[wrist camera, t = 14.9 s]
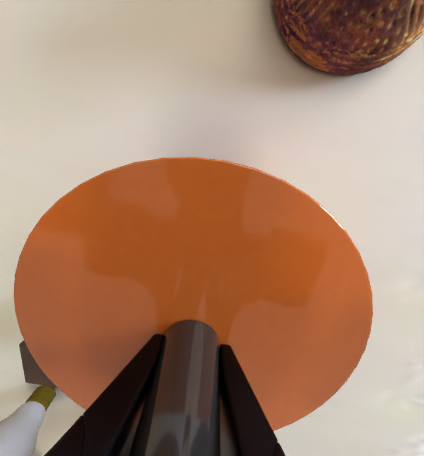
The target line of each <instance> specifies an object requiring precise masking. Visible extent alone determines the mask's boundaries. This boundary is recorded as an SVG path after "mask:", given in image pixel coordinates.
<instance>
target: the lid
mask: <svg viewBox="0 0 424 456" xmlns="http://www.w3.org/2000/svg"><path fill="white" fill-rule="evenodd" d="M14 302H15V312H16V317H17V320H18V324H19V328H20V331H21V334H22V336H23V338H24V341H25V343H26V345H27V348H28V349H29V351H30V353H31V354H32V356H33V358H34V359H35V361H36V363H37V364H38V365H39V367H40V368H41V369H42V371H43V372H44V373H45V374H46V376H47V377H48V378H49V379H50V380H51V381H52V382H53V383H54V384H55V385H56V386H57V387H58V388H59V389H60V390H61V391H62V392H63V393H64V394H66V395H67V396H68V397H69V398H71V399H72V400H73V401H74V402H76V403H77V404H79V405H80V406H82V407H83V408H85V409H86V410H87V409H88V408H89V407H90V406H91V404H92V403H93V402H94V401H95V400H96V399H97V398H98V397H99V395H100V394H101V393H102V392H103V391H104V390H105V389H106V388H107V386H108V385H109V384H110V383H111V382H112V381H113V380H114V379H115V378H116V376H117V375H118V374H119V373H120V372H121V371H122V370H123V369H124V367H125V366H126V365H127V364H128V363H129V362H130V361H131V360H132V359H133V357H134V356H135V355H136V354H137V353H138V352H139V351H140V350H141V348H142V347H143V346H144V345H145V344H146V343H147V342H148V341H149V339H150V338H151V337H152V336H153V335H154V334H162V335H164V340H163V343H162V346H161V350H160V353H159V357H158V360H157V363H156V367H155V370H154V373H153V376H152V379H151V382H150V385H149V388H148V391H147V395H146V398H145V401H144V405H143V408H142V411H141V415H140V418H139V421H138V425H137V428H136V432H135V435H134V438H133V442H132V445H131V448H130V452H129V455H128V456H221V440H220V362H219V348H220V345H221V344H227V345H230V346H231V348H232V350H233V352H234V354H235V356H236V358H237V360H238V362H239V364H240V366H241V368H242V370H243V372H244V374H245V376H246V378H247V380H248V382H249V384H250V386H251V388H252V390H253V392H254V394H255V396H256V398H257V400H258V402H259V404H260V406H261V408H262V410H263V412H264V414H265V416H266V418H267V420H268V422H269V424H270V426H271V428H272V430H273V431H275V430H277V429H280V428H282V427H284V426H287V425H289V424H292V423H294V422H295V421H297V420H299V419H301V418H303V417H305V416H306V415H308V414H310V413H311V412H313V411H314V410H315V409H317V408H318V407H320V406H321V405H323V404H324V403H325V402H326V401H327V400H328V399H330V398H331V397H332V396H333V395H334V394H335V393H336V392H337V391H338V390H339V389H340V388H341V387H342V385H343V384H344V383H345V382H346V381H347V380H348V378H349V377H350V375H351V374H352V372H353V371H354V369H355V368H356V367H357V365H358V363H359V361H360V359H361V357H362V355H363V353H364V351H365V348H366V344H367V341H368V338H369V335H370V331H371V323H372V316H373V305H372V291H371V286H370V282H369V277H368V273H367V270H366V268H365V266H364V263H363V261H362V258H361V256H360V253H359V251H358V250H357V248H356V246H355V245H354V243H353V242H352V240H351V238H350V237H349V235H348V234H347V232H346V231H345V230H344V229H343V227H342V226H341V225H340V224H339V223H338V222H337V221H336V219H335V218H334V217H333V216H332V215H331V214H330V213H329V212H328V211H327V210H326V209H325V208H323V207H322V206H321V205H320V204H318V203H317V202H316V201H315V200H314V199H312V198H311V197H310V196H309V195H307V194H306V193H304V192H302V191H301V190H299V189H297V188H296V187H294V186H292V185H291V184H289V183H287V182H286V181H284V180H282V179H279V178H277V177H275V176H272V175H270V174H267V173H265V172H263V171H260V170H258V169H255V168H251V167H248V166H244V165H240V164H236V163H232V162H229V161H224V160H215V159H207V158H198V157H177V158H159V159H153V160H147V161H141V162H135V163H131V164H128V165H125V166H122V167H118V168H115V169H112V170H109V171H106V172H104V173H102V174H100V175H98V176H96V177H94V178H92V179H90V180H88V181H86V182H84V183H82V184H80V185H78V186H77V187H76V188H74V189H73V190H72V191H70V192H69V193H67V194H66V195H65V196H63V197H62V198H60V199H59V200H58V201H57V202H56V203H55V204H54V205H53V206H52V207H51V208H50V209H49V210H48V211H47V212H46V213H45V214H44V215H43V216H42V217H41V219H40V220H39V222H38V223H37V225H36V226H35V228H34V229H33V230H32V232H31V233H30V235H29V236H28V239H27V241H26V243H25V245H24V247H23V250H22V252H21V254H20V257H19V261H18V265H17V269H16V273H15V283H14Z"/></svg>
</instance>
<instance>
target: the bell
mask: <svg viewBox="0 0 424 456" xmlns="http://www.w3.org/2000/svg"><path fill="white" fill-rule="evenodd" d="M273 8H274V12H275V15H276V20H277V24H278V27H279V29H280V32H281V34H282V36H283V37H284V39H285V40H286V42H287V44H288V46H289V48H290V49H291V50H292V51H293V52H294V53H295V54H296V55H298V56H299V57H300V58H301V59H302V60H303V61H304V62H305V63H306V64H308V65H310V66H312V67H314V68H317V69H319V70H322V71H326V72H329V73H334V74H351V75H352V74H358V73H363V72H367V71H370V70H372V69H375V68H377V67H380V66H382V65H384V64H386V63H388V62H389V61H391V60H393V59H394V58H396V57H397V56H398V55H400V54H401V53H402V52H404V51H405V50H406V49H407V48H409V47H410V46H411V45H412V44H413V43H414V42H415V41H416V40H418V39H419V38H420V37H421V36H422V35H423V34H424V0H273Z"/></svg>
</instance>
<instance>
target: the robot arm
mask: <svg viewBox="0 0 424 456" xmlns="http://www.w3.org/2000/svg"><path fill="white" fill-rule="evenodd" d="M163 340H164V335H162V334H154V335H153V336H152V337H151V338H150V339H149V341H148V342H147V343H146V344H145V345H144V346H143V347H142V348H141V350H140V351H139V352H138V353H137V354H136V355H135V356H134V357H133V359H132V360H131V361H130V362H129V363H128V364H127V365H126V366H125V367H124V369H123V370H122V371H121V372H120V373H119V374H118V375H117V376H116V378H115V379H114V380H113V381H112V382H111V383H110V384H109V385H108V386H107V388H106V389H105V390H104V391H103V392H102V393H101V394H100V395H99V397H98V398H97V399H96V400H95V401H94V402H93V403H92V404H91V406H90V407H89V408H88V409H87V410H86V411H85V412H84V414H83V416H81V417H80V418H79V419H78V420H77V421H76V422H75V423H74V424H73V426H72V427H71V428H70V429H69V430H68V431H67V432H66V433H65V434H64V435H63V436H62V437H61V439H60V440H59V441H58V442H57V443H56V444H55V445H54V446H53V447H52V448H51V449H50V450H49V451H48V452H47V453H46V454H45V455H44V456H128V455H129V452H130V448H131V445H132V442H133V438H134V435H135V432H136V428H137V425H138V421H139V418H140V415H141V411H142V408H143V405H144V401H145V398H146V395H147V391H148V388H149V385H150V382H151V379H152V376H153V373H154V370H155V367H156V363H157V360H158V357H159V353H160V350H161V346H162V343H163ZM219 362H220V440H221V456H285V454H284V452H283V450H282V448H281V446H280V444H279V443H277V442H278V440H277V438H276V436H275V434H274V432H273V430H272V428H271V426H270V424H269V422H268V420H267V418H266V416H265V414H264V412H263V410H262V408H261V406H260V404H259V402H258V400H257V398H256V396H255V394H254V392H253V390H252V388H251V386H250V384H249V382H248V380H247V378H246V376H245V374H244V372H243V370H242V368H241V366H240V364H239V362H238V360H237V358H236V356H235V354H234V352H233V350H232V348H231V346H230V345H227V344H221V345H220V348H219Z"/></svg>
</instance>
